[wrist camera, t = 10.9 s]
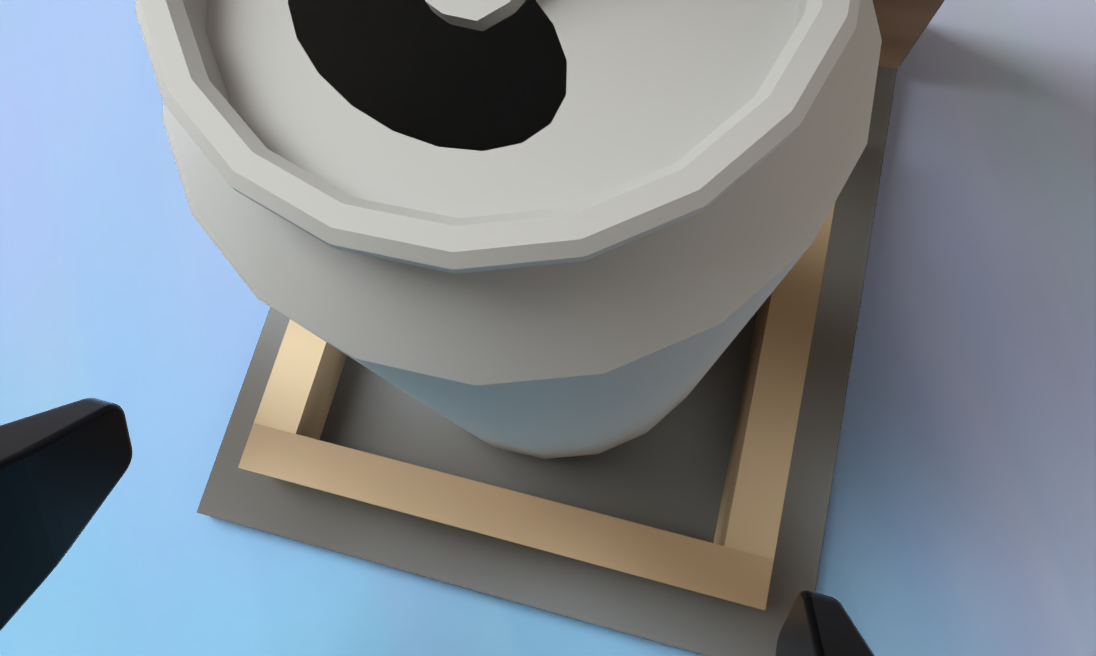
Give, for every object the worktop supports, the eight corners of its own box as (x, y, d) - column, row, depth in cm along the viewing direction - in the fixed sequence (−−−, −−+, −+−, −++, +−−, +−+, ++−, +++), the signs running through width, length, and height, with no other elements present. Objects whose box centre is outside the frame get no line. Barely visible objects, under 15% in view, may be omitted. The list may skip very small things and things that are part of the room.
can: (344, 326, 18) (-139, -31, 6) (540, 113, 19) (456, -535, 7) (578, 530, 16) (539, 584, 4) (776, 284, 17) (1158, -188, 6)
